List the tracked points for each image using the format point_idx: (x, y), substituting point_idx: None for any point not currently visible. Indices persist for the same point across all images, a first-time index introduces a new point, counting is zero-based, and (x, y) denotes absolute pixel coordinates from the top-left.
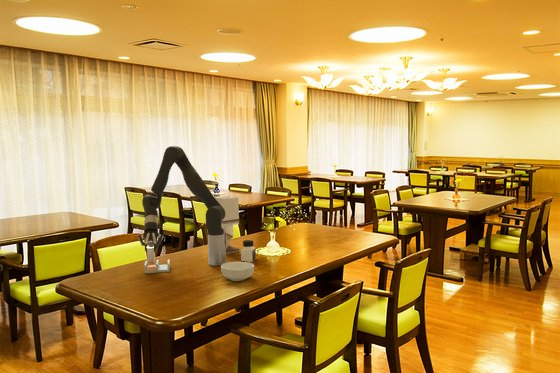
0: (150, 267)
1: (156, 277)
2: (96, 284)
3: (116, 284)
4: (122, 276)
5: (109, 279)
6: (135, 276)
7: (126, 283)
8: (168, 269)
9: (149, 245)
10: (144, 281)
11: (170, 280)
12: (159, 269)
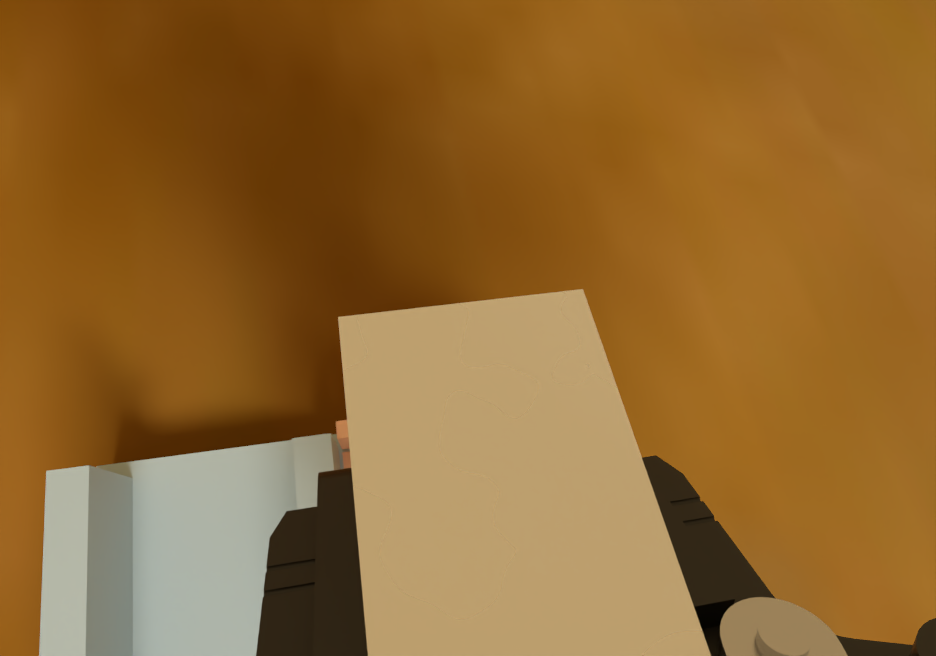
0: None
1: (302, 187)
2: (927, 45)
3: (717, 10)
4: (780, 298)
5: (882, 194)
6: (605, 274)
7: (621, 23)
8: (117, 463)
9: (548, 478)
10: (431, 55)
11: (100, 38)
12: (283, 480)
